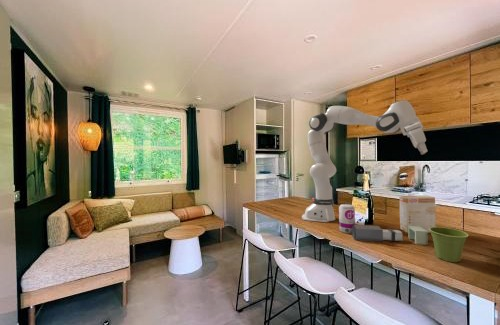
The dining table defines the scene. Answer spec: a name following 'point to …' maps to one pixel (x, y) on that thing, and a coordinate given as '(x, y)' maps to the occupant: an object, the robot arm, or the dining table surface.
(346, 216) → the supplement can
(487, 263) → the dining table surface
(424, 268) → the dining table surface
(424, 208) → the coffeecake box
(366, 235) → the sleeve
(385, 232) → the slip tube
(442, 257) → the plant pot
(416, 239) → the socket
